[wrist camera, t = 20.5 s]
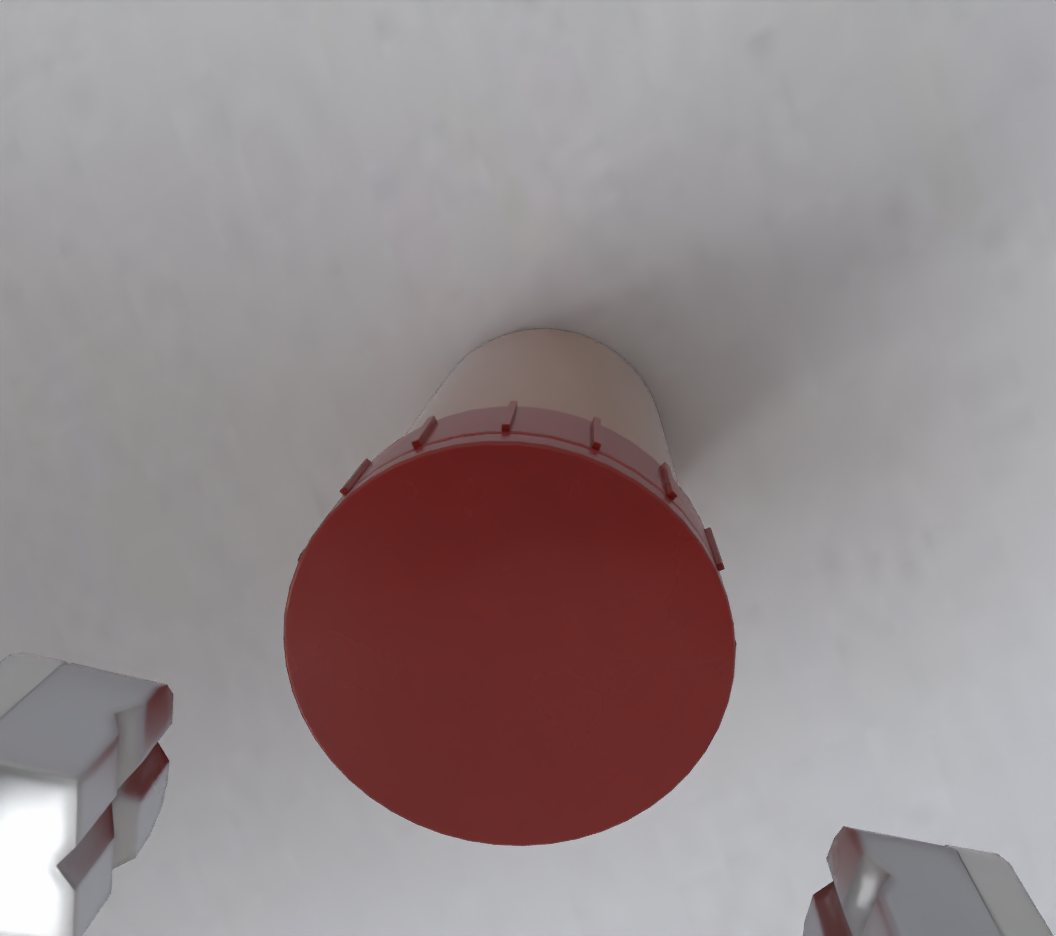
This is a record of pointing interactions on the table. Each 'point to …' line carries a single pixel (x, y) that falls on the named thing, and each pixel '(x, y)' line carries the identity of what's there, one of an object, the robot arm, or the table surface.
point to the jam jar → (554, 385)
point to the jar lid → (512, 628)
